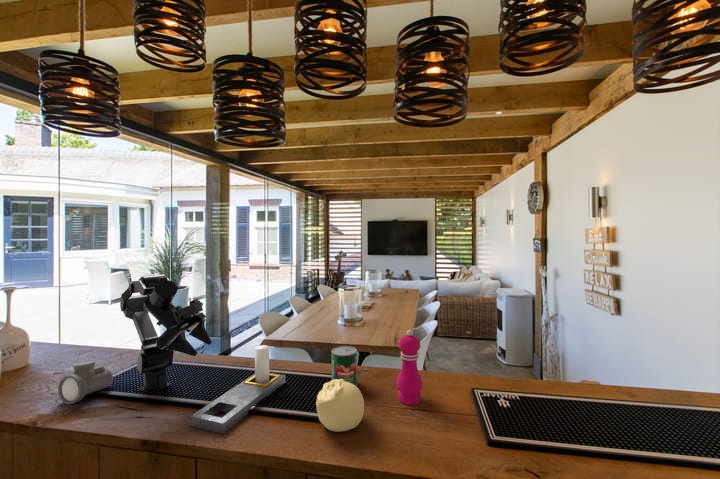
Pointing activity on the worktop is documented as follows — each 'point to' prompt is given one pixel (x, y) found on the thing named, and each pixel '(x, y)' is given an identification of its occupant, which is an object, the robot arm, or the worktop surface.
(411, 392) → the pepper mill
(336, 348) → the canned tomato
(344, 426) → the sculpture
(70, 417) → the worktop surface
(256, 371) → the peg
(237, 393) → the grey board with holes
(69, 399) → the grey flashlight
